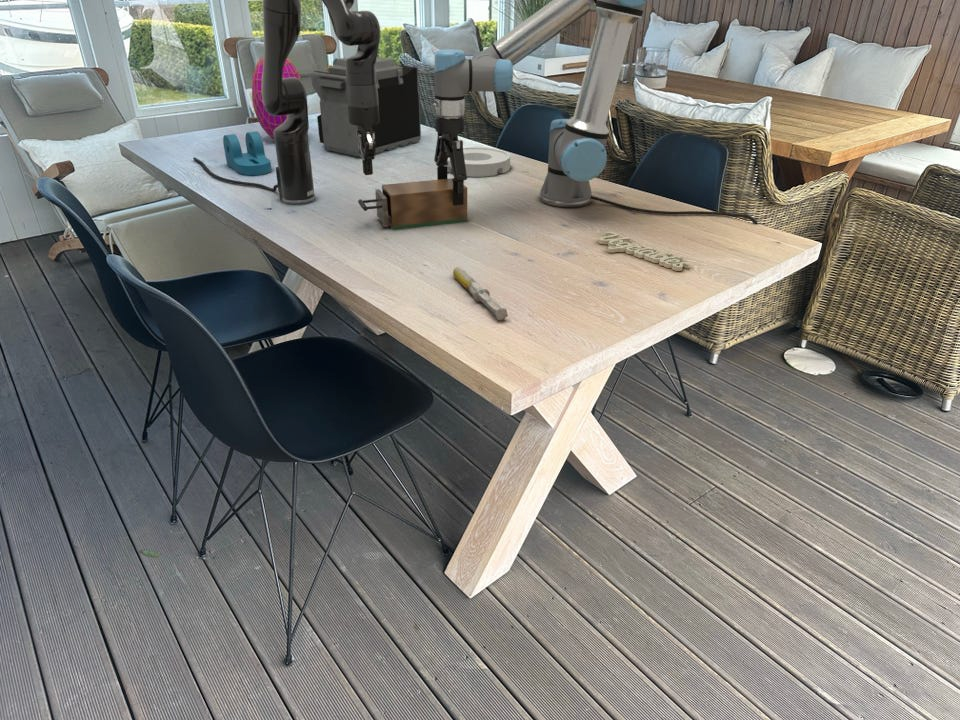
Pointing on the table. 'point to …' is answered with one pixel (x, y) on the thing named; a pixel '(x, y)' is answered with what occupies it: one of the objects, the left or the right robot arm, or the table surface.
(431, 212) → the cabinet
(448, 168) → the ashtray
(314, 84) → the electronic device
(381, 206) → the drawer
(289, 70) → the decorative egg
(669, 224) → the table surface
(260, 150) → the camera mount
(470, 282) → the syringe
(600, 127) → the right robot arm
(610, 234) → the decorative sign
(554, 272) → the table surface
